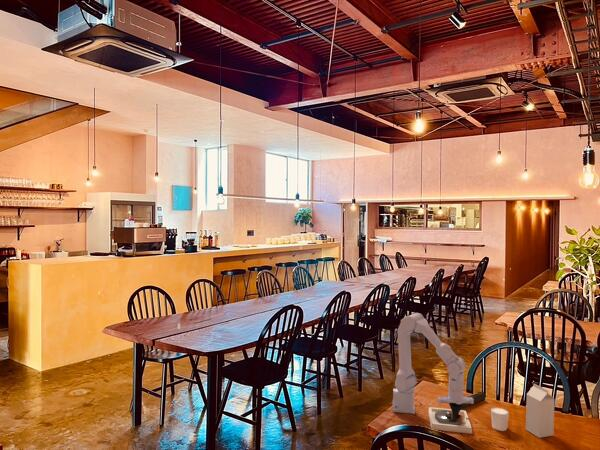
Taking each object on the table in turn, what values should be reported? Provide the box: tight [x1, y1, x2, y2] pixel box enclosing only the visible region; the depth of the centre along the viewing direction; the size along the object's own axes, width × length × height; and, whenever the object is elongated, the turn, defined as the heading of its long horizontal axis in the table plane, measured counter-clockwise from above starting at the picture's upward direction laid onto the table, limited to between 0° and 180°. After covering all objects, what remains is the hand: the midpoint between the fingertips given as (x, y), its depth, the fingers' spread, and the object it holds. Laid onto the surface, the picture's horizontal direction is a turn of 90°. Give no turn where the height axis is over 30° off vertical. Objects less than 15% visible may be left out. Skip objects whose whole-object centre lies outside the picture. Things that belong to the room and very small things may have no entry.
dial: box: [435, 410, 465, 425], centre depth 187 cm, size 12×12×4 cm
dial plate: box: [427, 406, 473, 435], centre depth 188 cm, size 16×16×2 cm
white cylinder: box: [490, 407, 510, 432], centre depth 183 cm, size 7×7×7 cm
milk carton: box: [525, 383, 555, 439], centre depth 179 cm, size 7×7×19 cm
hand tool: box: [461, 391, 486, 409], centre depth 205 cm, size 19×4×5 cm, turn 121°
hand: (454, 420), depth 183 cm, fingers closed, pressing on dial
